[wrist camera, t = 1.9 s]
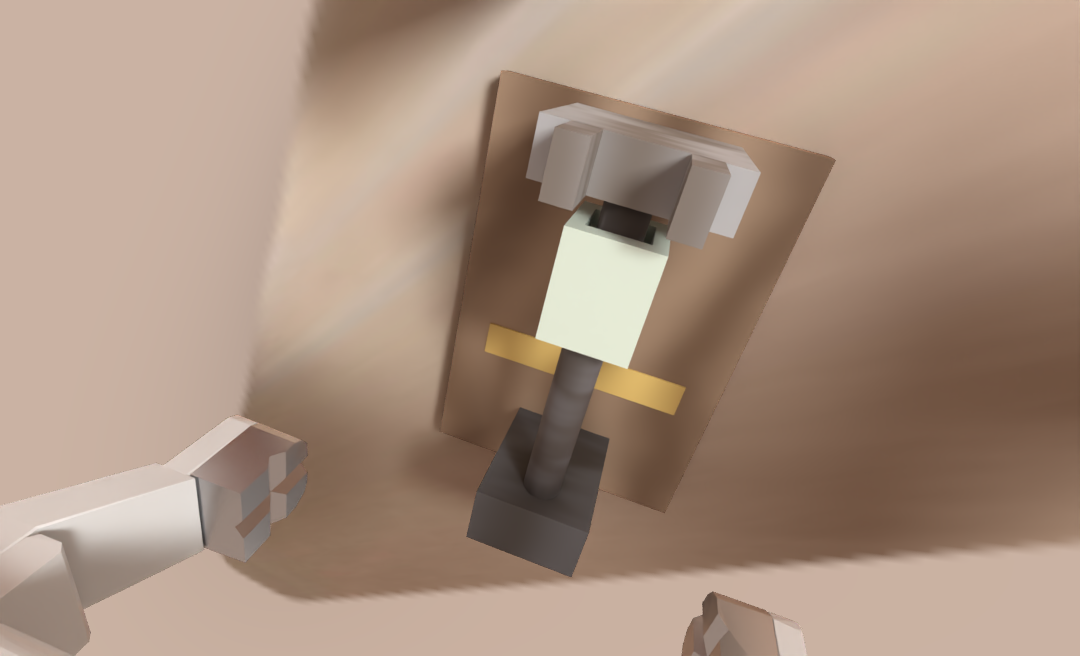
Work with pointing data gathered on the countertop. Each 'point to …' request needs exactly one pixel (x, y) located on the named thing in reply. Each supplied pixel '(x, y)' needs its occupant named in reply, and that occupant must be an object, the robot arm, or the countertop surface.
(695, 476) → the countertop surface
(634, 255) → the sleeve
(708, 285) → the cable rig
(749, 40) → the countertop surface
